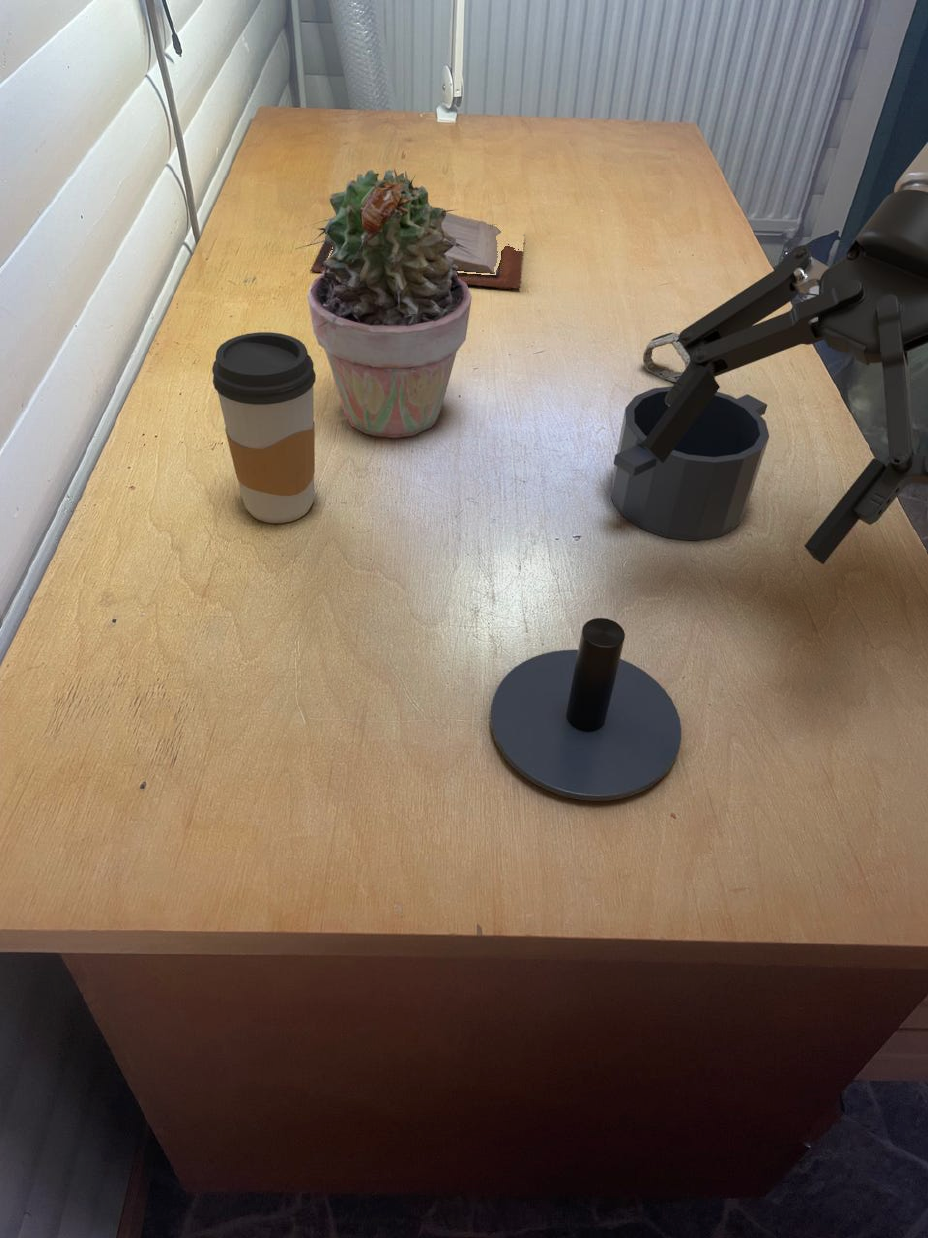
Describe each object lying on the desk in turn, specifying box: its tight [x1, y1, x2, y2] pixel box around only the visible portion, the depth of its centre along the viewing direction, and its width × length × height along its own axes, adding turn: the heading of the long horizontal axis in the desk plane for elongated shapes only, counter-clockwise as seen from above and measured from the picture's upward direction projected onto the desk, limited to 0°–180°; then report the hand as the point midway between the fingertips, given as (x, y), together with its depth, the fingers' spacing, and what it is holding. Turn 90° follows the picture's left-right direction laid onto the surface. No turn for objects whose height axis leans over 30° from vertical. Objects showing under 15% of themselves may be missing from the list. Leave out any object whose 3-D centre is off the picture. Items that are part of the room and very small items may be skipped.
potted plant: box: [294, 168, 486, 439], centre depth 88 cm, size 18×20×25 cm
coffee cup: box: [211, 331, 317, 524], centre depth 79 cm, size 8×8×15 cm
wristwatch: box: [642, 332, 690, 383], centre depth 103 cm, size 4×6×5 cm, turn 44°
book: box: [309, 212, 525, 291], centre depth 125 cm, size 20×28×4 cm
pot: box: [610, 385, 770, 541], centre depth 84 cm, size 13×18×8 cm
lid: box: [490, 617, 682, 802], centre depth 63 cm, size 14×14×10 cm
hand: (727, 502), depth 60 cm, fingers open, 13 cm apart
